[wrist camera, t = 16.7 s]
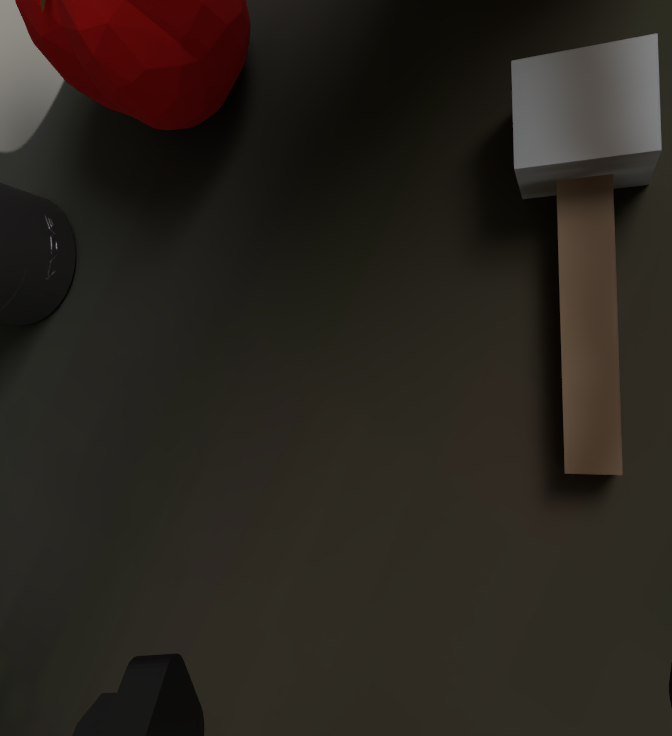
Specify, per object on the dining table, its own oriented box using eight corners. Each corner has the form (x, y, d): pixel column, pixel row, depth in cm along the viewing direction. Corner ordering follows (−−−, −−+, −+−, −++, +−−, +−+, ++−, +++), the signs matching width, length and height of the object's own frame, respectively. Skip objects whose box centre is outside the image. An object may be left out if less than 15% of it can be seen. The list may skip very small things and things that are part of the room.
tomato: (147, 184, 42) (-31, 100, 30) (115, 12, 43) (-68, -137, 31) (307, 121, 38) (179, -6, 26) (266, -66, 39) (126, -272, 27)
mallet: (529, 466, 33) (522, 479, 29) (519, 105, 34) (511, 60, 29) (658, 469, 31) (673, 484, 27) (645, 85, 32) (657, 33, 27)
